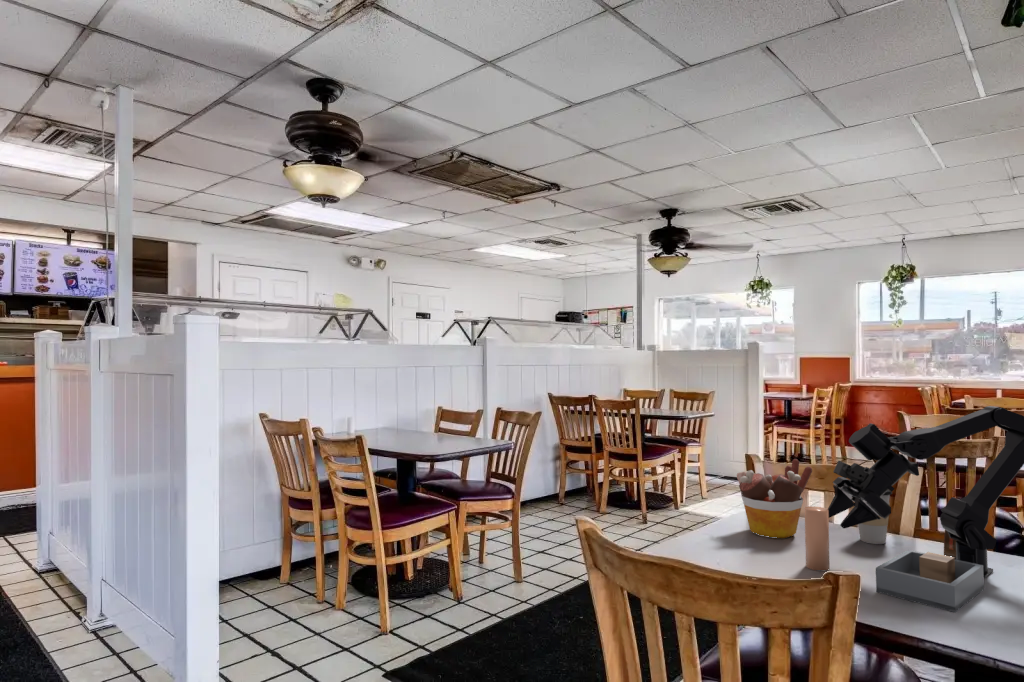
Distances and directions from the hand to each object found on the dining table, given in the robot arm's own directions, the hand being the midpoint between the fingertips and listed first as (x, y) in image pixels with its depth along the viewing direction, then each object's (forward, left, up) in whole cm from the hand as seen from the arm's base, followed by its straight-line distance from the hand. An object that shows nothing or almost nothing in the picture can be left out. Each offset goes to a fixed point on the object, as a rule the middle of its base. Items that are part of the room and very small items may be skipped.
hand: (833, 521), depth 147 cm
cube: (-5, +19, -10) cm, 22 cm away
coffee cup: (-28, -3, -11) cm, 30 cm away
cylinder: (+3, -3, -11) cm, 11 cm away
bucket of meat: (-16, -24, -11) cm, 31 cm away
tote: (0, +19, -11) cm, 22 cm away
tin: (-32, +14, -11) cm, 37 cm away
